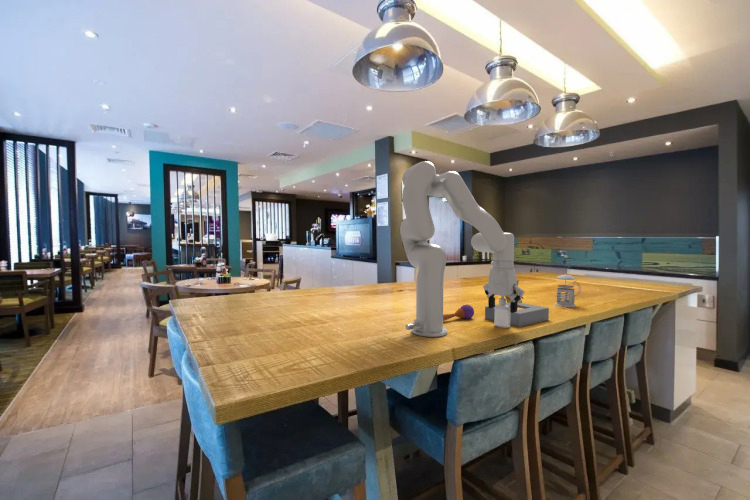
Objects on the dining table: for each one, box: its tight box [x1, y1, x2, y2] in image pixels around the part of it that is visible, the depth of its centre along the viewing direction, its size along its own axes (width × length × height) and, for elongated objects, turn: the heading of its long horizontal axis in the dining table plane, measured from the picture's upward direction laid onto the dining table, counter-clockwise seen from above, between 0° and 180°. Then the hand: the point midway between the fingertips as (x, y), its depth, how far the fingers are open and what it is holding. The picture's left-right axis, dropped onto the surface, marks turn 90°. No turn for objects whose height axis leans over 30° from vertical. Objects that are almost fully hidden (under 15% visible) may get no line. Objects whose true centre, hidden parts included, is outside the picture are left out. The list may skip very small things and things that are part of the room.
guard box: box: [484, 302, 550, 328], centre depth 142 cm, size 20×16×5 cm
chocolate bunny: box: [504, 279, 524, 303], centre depth 163 cm, size 7×11×15 cm, turn 123°
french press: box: [554, 255, 582, 308], centre depth 172 cm, size 10×12×25 cm
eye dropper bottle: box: [493, 296, 511, 329], centre depth 130 cm, size 4×6×12 cm
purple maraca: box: [443, 304, 475, 322], centre depth 140 cm, size 6×6×20 cm
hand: (502, 309), depth 131 cm, fingers open, 9 cm apart
